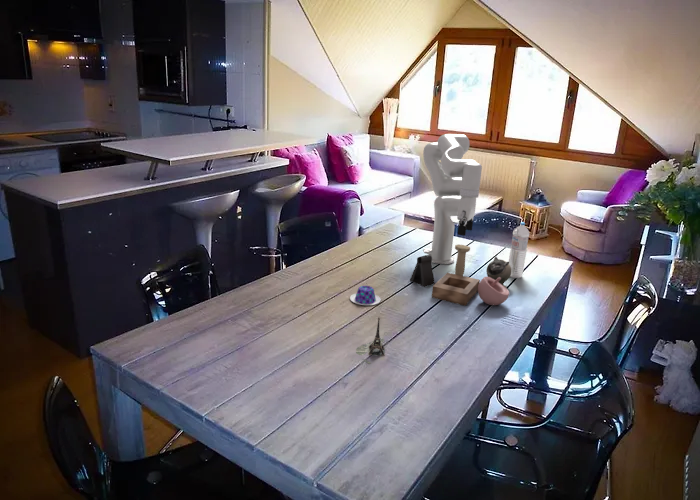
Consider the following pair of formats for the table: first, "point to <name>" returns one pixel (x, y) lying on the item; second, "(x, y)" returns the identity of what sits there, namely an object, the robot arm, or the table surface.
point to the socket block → (455, 289)
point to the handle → (461, 259)
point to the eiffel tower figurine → (372, 346)
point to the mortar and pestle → (492, 291)
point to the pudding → (365, 296)
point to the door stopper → (423, 271)
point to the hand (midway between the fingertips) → (464, 232)
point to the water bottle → (518, 250)
